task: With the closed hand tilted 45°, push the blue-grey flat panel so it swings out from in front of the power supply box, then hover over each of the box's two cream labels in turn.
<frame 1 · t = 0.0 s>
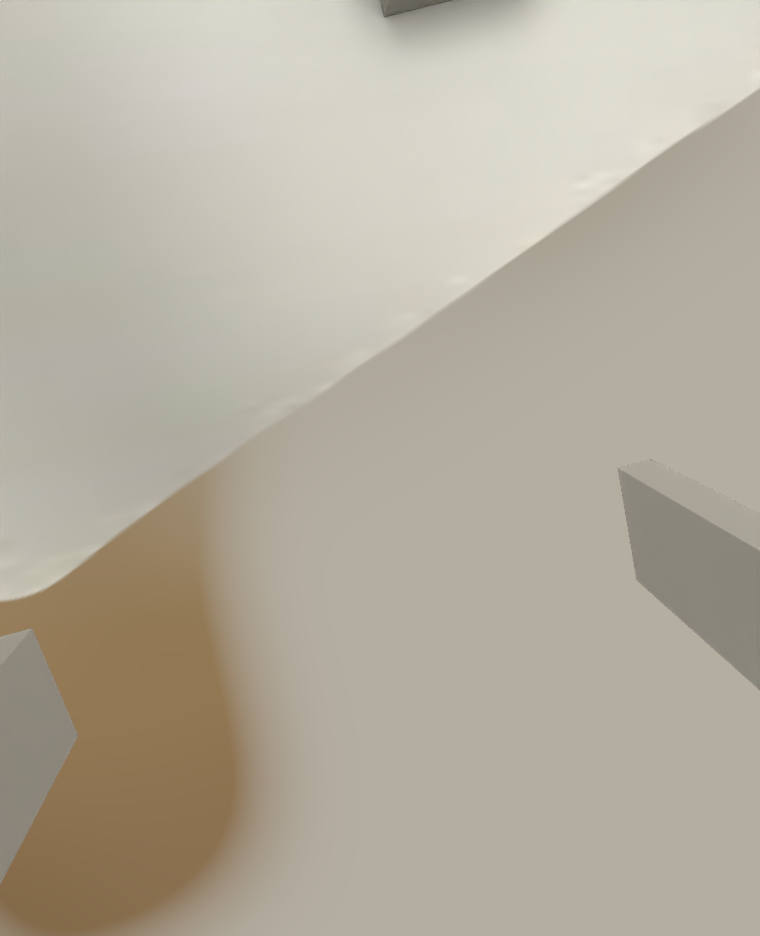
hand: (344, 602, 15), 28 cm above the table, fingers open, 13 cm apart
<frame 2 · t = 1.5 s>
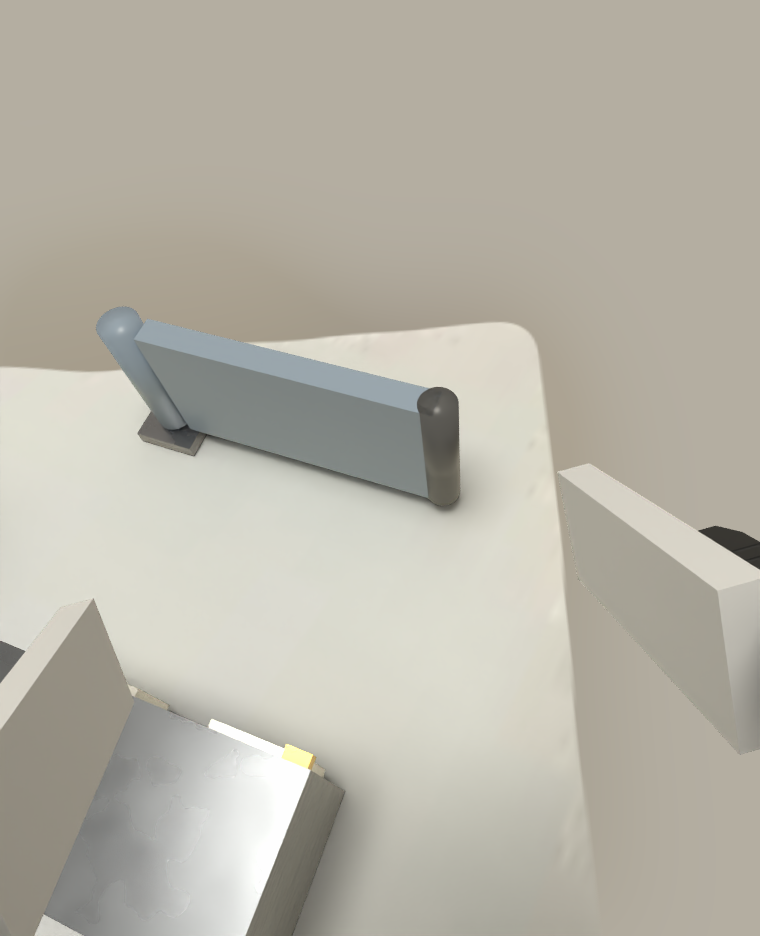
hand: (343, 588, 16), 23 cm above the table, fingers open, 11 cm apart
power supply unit: (170, 811, 36), on the table
blue-grey flat panel: (284, 409, 40), point 6 cm above the table, hinge at 0.0°
arm mount: (182, 424, 48), on the table
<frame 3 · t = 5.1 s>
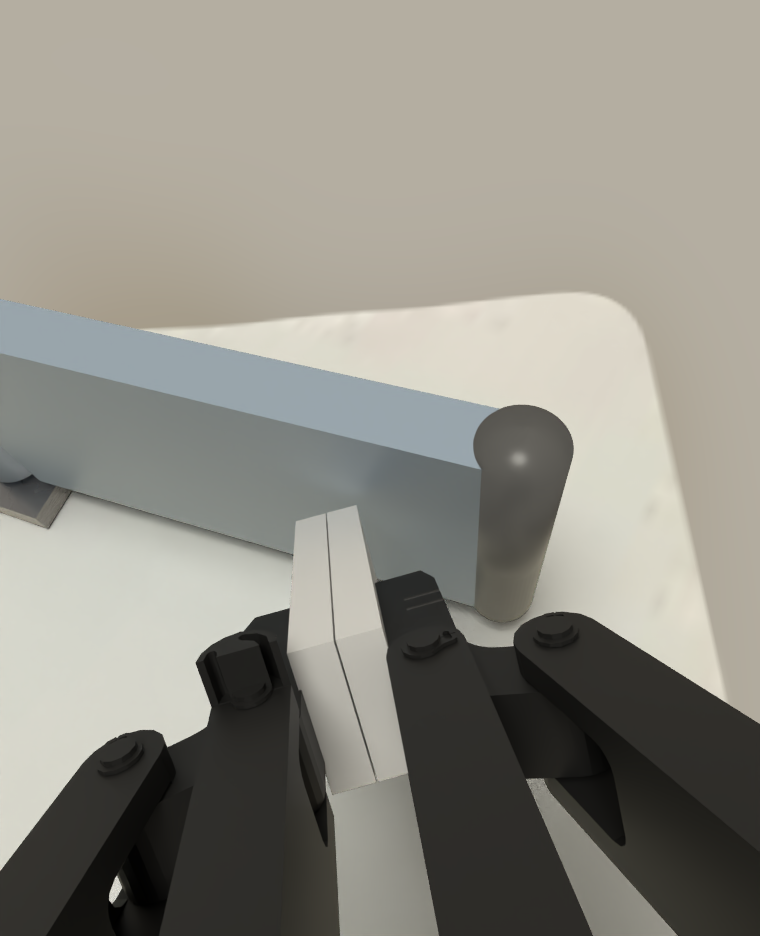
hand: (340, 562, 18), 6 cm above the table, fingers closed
blue-grey flat panel: (191, 450, 20), point 6 cm above the table, hinge at 1.7°, touching gripper
arm mount: (34, 469, 28), on the table
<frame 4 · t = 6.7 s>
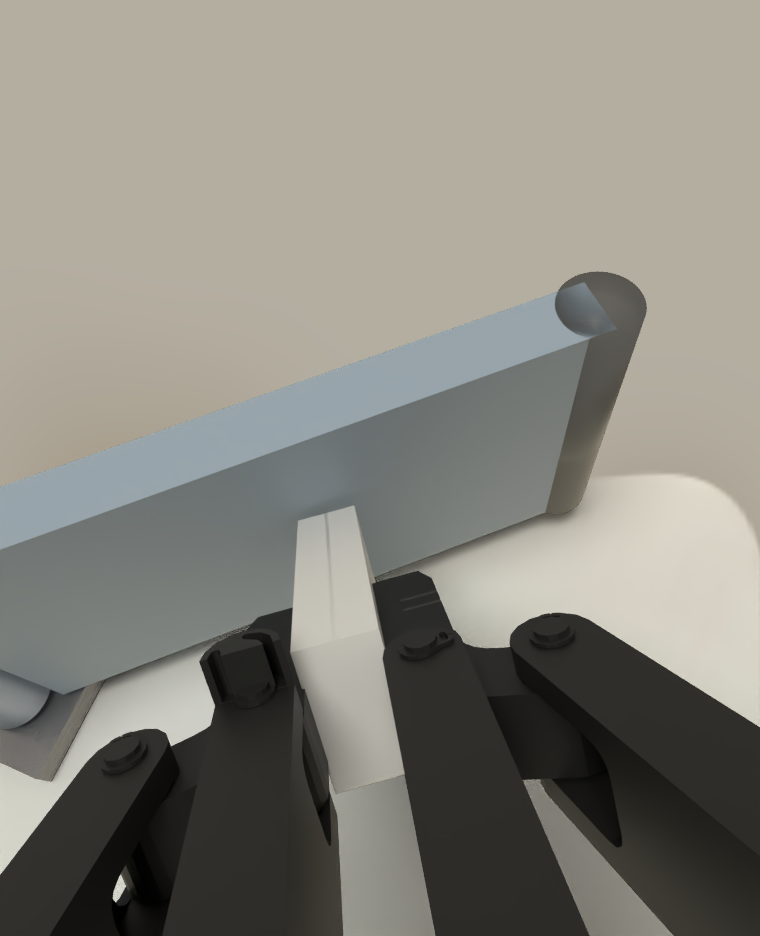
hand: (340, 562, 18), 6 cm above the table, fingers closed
blue-grey flat panel: (254, 530, 19), point 6 cm above the table, hinge at 40.2°, touching gripper
arm mount: (34, 696, 23), on the table
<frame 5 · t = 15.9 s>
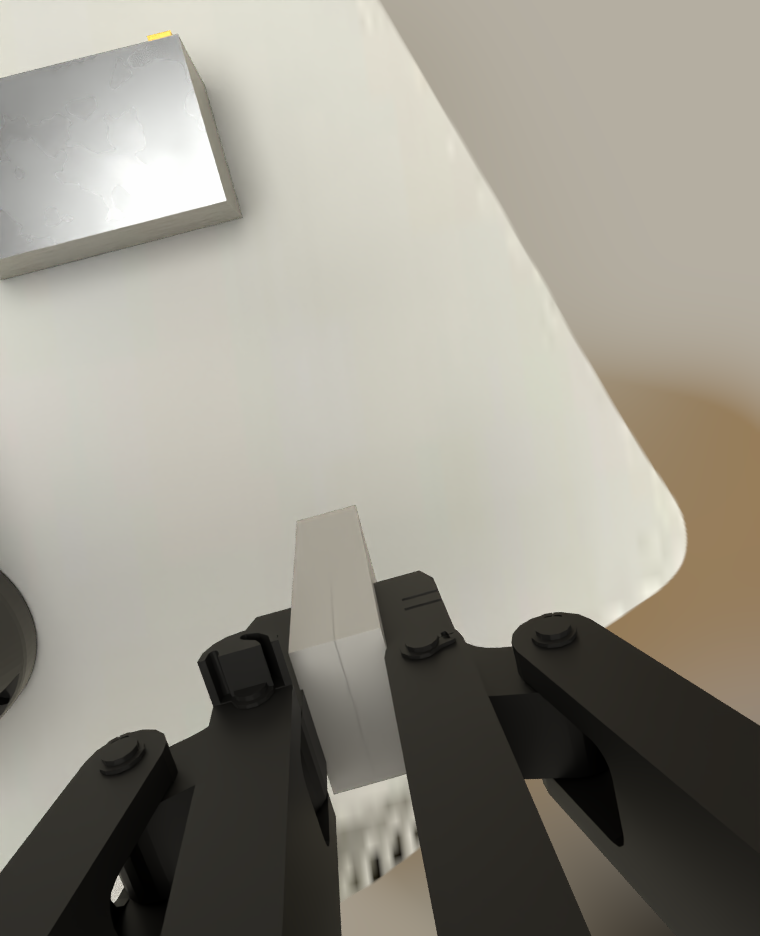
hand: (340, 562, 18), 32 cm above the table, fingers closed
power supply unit: (100, 184, 44), on the table
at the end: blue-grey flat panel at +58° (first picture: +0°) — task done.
